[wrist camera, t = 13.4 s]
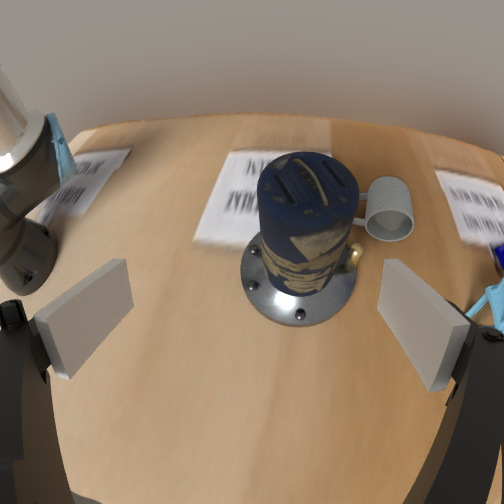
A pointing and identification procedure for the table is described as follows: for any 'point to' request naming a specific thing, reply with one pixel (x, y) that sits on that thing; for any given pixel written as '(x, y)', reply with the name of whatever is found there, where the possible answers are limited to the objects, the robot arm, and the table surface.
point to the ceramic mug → (387, 209)
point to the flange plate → (291, 307)
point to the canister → (304, 220)
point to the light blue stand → (492, 304)
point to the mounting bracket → (500, 254)
